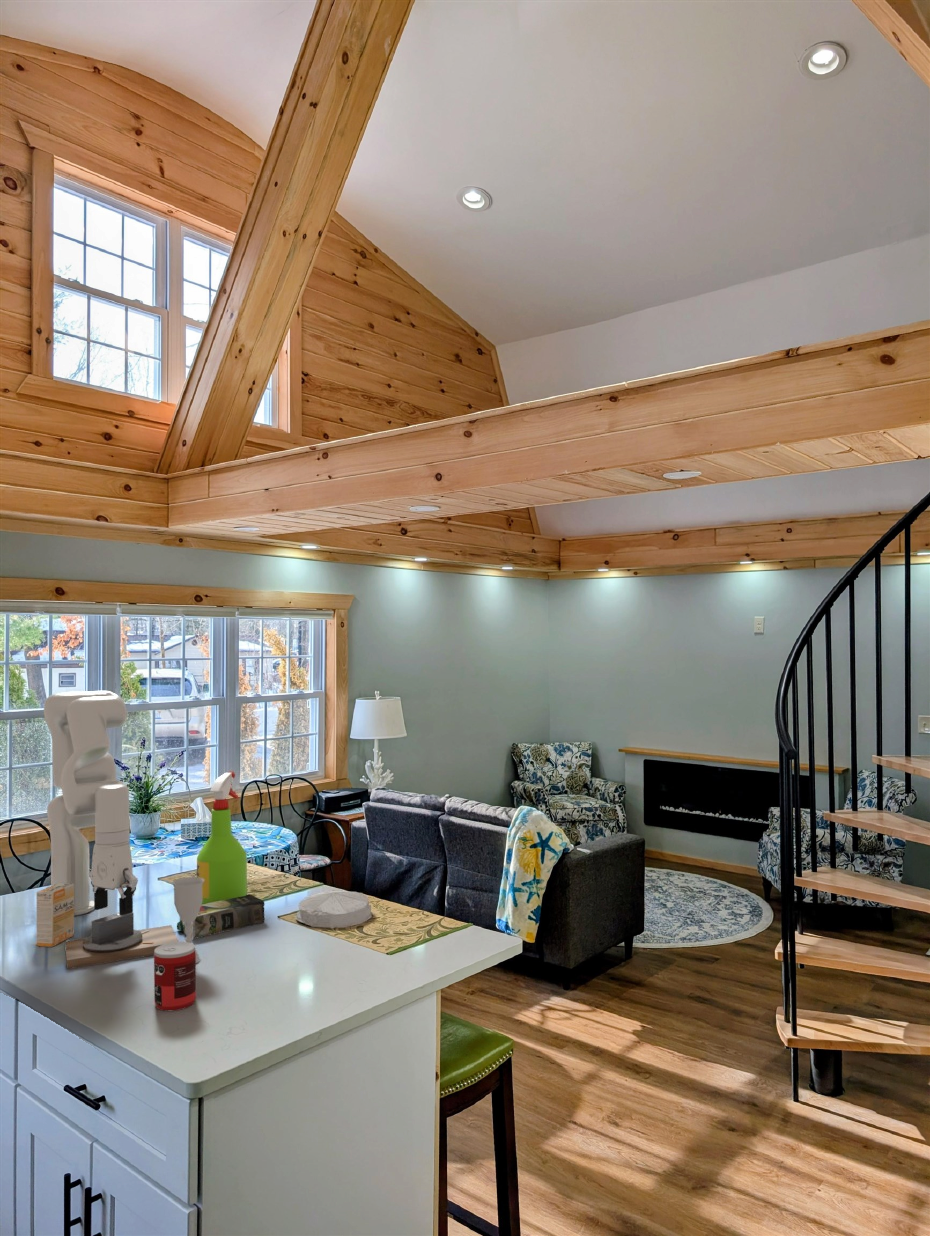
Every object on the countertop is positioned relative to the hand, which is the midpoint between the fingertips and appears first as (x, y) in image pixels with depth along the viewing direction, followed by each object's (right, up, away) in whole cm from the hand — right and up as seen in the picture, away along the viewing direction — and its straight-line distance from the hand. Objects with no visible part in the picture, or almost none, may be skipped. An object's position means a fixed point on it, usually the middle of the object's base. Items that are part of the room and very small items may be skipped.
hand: (113, 911), depth 204 cm
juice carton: (+20, -10, +18) cm, 29 cm away
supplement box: (-18, -10, +8) cm, 22 cm away
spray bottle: (+15, -11, +43) cm, 47 cm away
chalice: (+20, -9, -7) cm, 23 cm away
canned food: (+25, -9, -30) cm, 40 cm away
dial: (0, -7, 0) cm, 7 cm away
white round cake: (+48, -10, +24) cm, 55 cm away
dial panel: (+2, -10, +1) cm, 10 cm away
